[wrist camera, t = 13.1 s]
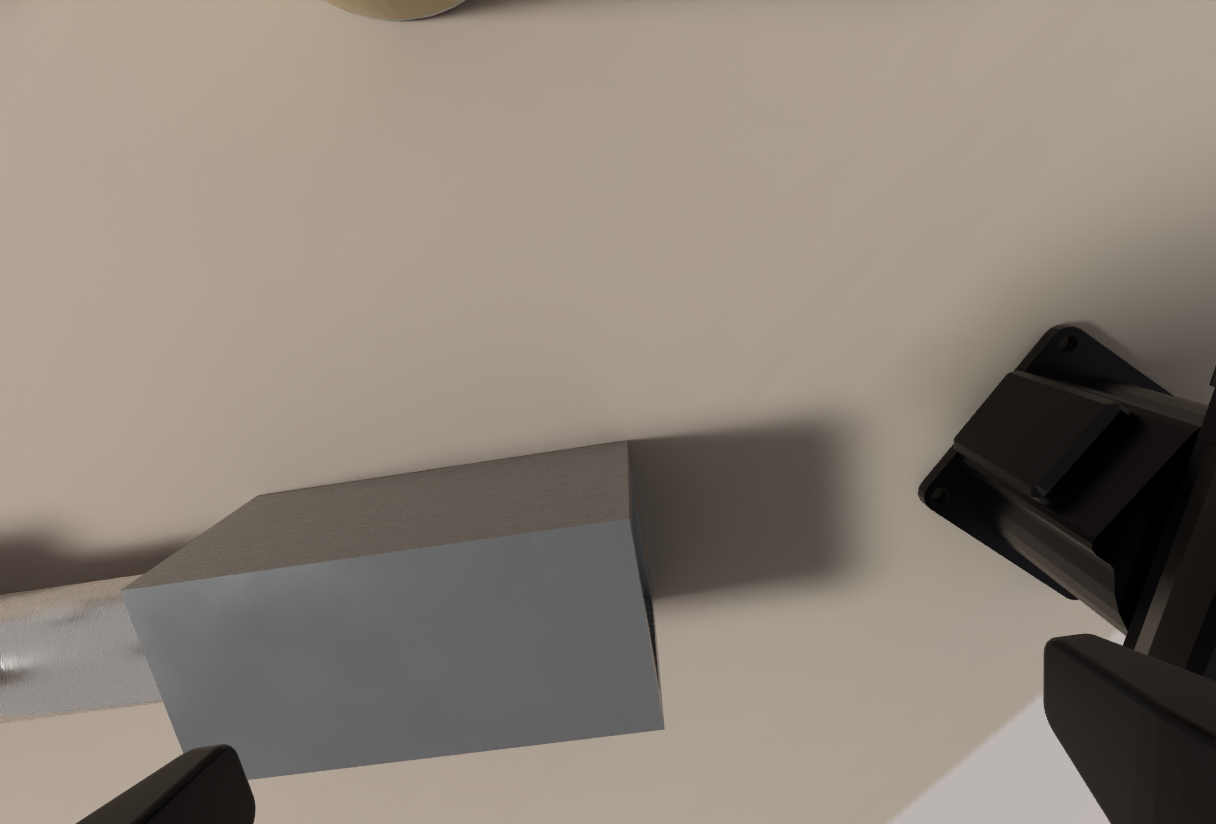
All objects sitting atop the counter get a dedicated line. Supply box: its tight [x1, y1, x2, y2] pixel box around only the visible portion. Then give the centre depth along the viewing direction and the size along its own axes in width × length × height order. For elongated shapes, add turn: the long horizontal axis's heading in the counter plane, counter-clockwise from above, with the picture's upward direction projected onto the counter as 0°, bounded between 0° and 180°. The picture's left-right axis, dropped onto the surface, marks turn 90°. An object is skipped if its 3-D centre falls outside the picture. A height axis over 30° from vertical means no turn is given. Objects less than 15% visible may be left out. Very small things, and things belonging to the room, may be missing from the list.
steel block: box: [120, 441, 664, 780], centre depth 18 cm, size 12×6×6 cm, turn 99°
